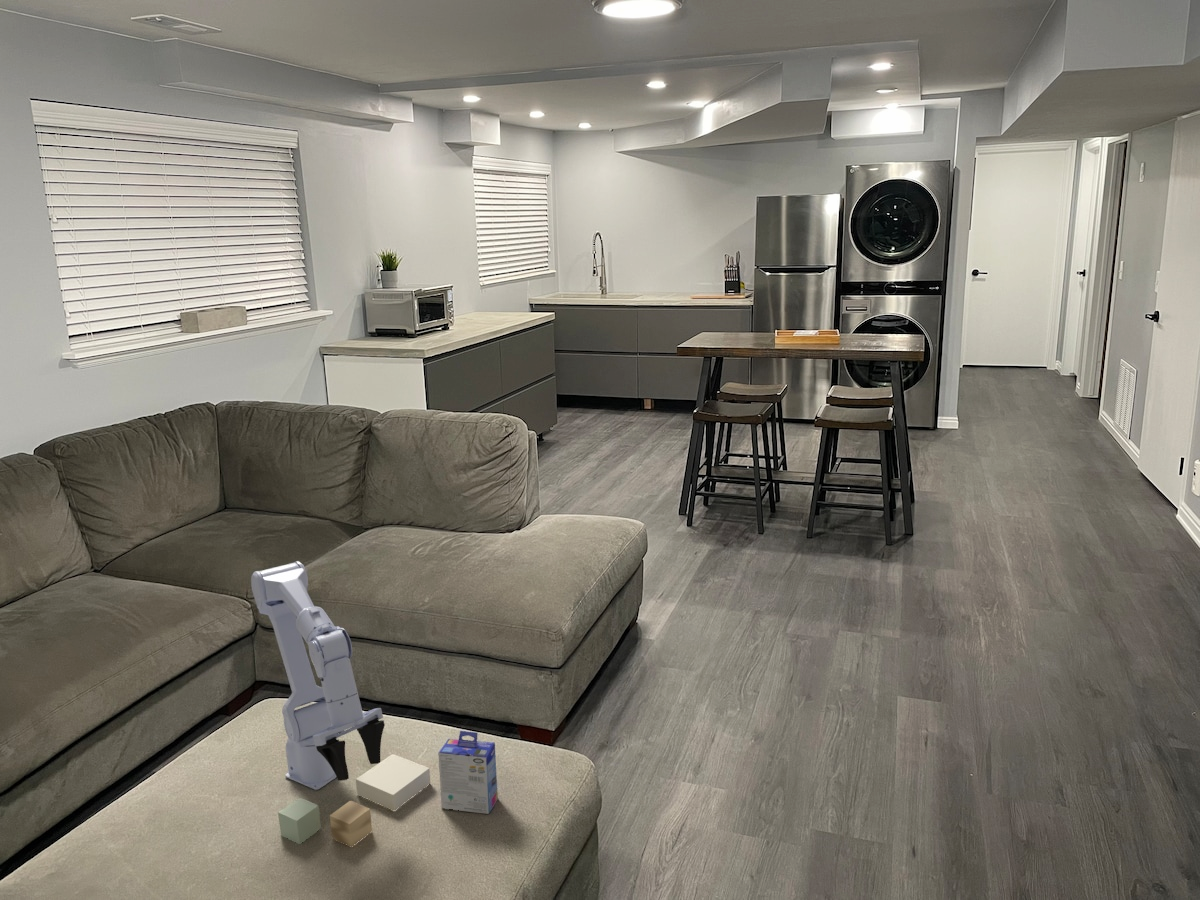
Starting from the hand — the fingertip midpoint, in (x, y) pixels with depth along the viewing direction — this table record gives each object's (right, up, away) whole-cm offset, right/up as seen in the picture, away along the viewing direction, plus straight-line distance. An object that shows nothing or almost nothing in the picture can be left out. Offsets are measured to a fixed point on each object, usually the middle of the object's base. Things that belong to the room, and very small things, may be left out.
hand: (359, 771), depth 161 cm
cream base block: (+3, -9, +15) cm, 18 cm away
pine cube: (-2, -12, +2) cm, 13 cm away
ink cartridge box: (+19, -10, +10) cm, 23 cm away
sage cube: (-12, -12, +3) cm, 17 cm away
